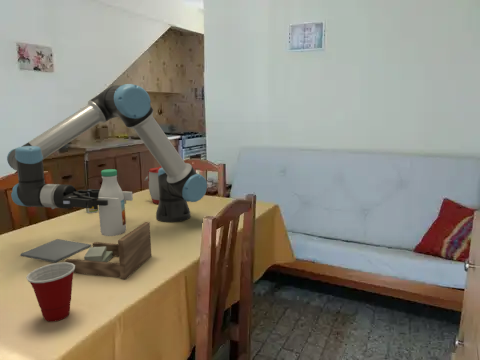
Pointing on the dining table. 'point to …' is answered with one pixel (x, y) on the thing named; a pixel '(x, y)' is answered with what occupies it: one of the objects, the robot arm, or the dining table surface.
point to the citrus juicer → (153, 184)
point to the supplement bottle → (91, 210)
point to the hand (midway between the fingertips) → (125, 199)
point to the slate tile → (55, 250)
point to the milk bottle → (111, 216)
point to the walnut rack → (120, 255)
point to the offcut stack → (98, 254)
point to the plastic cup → (53, 289)
